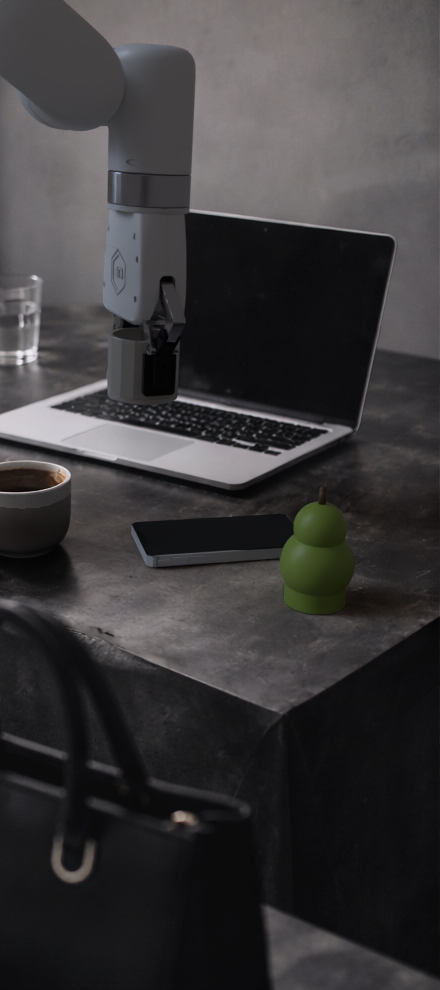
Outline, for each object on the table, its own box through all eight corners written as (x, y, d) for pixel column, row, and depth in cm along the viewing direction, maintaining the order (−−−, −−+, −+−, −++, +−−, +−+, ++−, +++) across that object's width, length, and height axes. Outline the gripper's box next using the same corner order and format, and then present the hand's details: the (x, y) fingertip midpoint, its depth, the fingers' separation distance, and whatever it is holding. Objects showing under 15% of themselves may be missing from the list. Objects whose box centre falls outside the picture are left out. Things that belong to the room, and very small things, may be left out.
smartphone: (313, 546, 87) (147, 557, 83) (312, 558, 88) (147, 570, 83) (283, 512, 94) (130, 521, 90) (282, 523, 95) (130, 533, 91)
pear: (279, 616, 77) (288, 499, 73) (275, 582, 82) (282, 472, 79) (356, 619, 77) (367, 501, 73) (345, 585, 82) (356, 474, 79)
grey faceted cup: (104, 402, 92) (105, 340, 90) (110, 384, 99) (112, 325, 96) (176, 406, 92) (179, 344, 90) (178, 388, 99) (180, 329, 97)
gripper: (79, 185, 94) (77, 366, 101) (146, 202, 80) (139, 411, 86) (151, 187, 98) (145, 362, 104) (228, 203, 83) (216, 406, 89)
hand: (143, 383), depth 95 cm, fingers closed on grey faceted cup, 6 cm apart
